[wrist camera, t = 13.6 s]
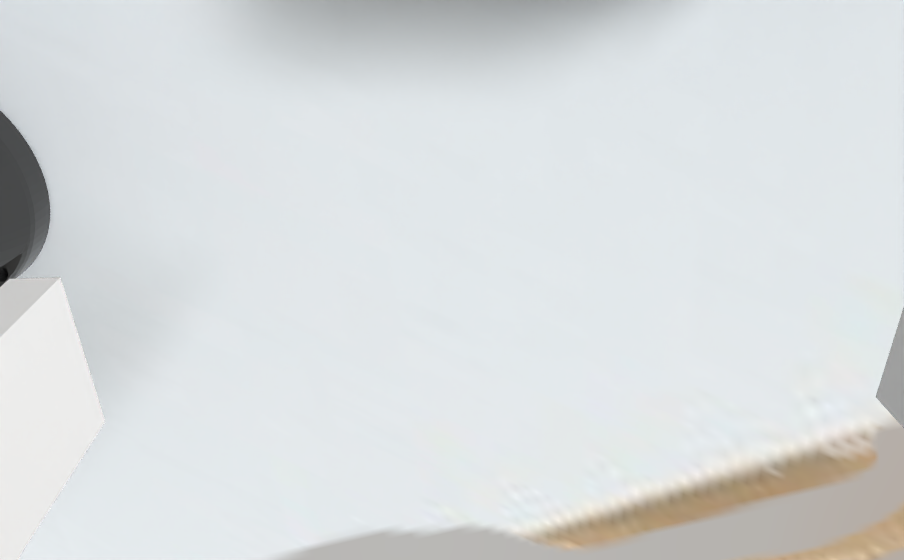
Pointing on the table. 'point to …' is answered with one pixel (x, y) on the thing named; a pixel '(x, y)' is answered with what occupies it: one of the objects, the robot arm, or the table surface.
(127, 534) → the table surface
